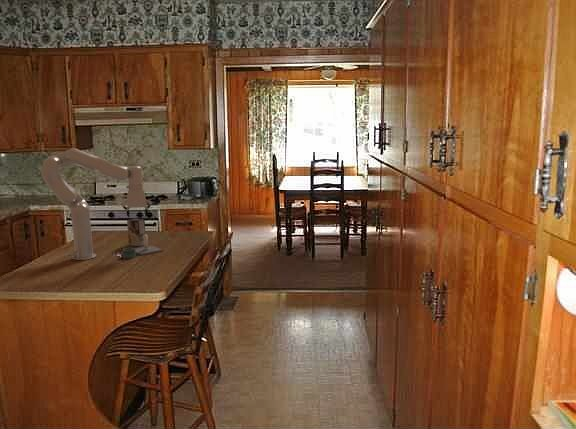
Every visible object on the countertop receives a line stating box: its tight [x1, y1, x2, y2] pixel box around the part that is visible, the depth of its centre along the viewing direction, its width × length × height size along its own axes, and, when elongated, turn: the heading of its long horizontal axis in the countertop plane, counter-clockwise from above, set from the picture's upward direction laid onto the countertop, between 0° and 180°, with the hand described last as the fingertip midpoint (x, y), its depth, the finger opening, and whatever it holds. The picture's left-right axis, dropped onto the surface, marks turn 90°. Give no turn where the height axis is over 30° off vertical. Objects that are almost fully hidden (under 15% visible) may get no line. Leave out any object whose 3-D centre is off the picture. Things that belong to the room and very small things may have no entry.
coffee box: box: [126, 218, 146, 247], centre depth 309 cm, size 9×6×16 cm
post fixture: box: [135, 234, 164, 256], centre depth 292 cm, size 14×14×10 cm
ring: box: [121, 247, 137, 259], centre depth 280 cm, size 7×7×4 cm
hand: (137, 216), depth 288 cm, fingers open, 9 cm apart
